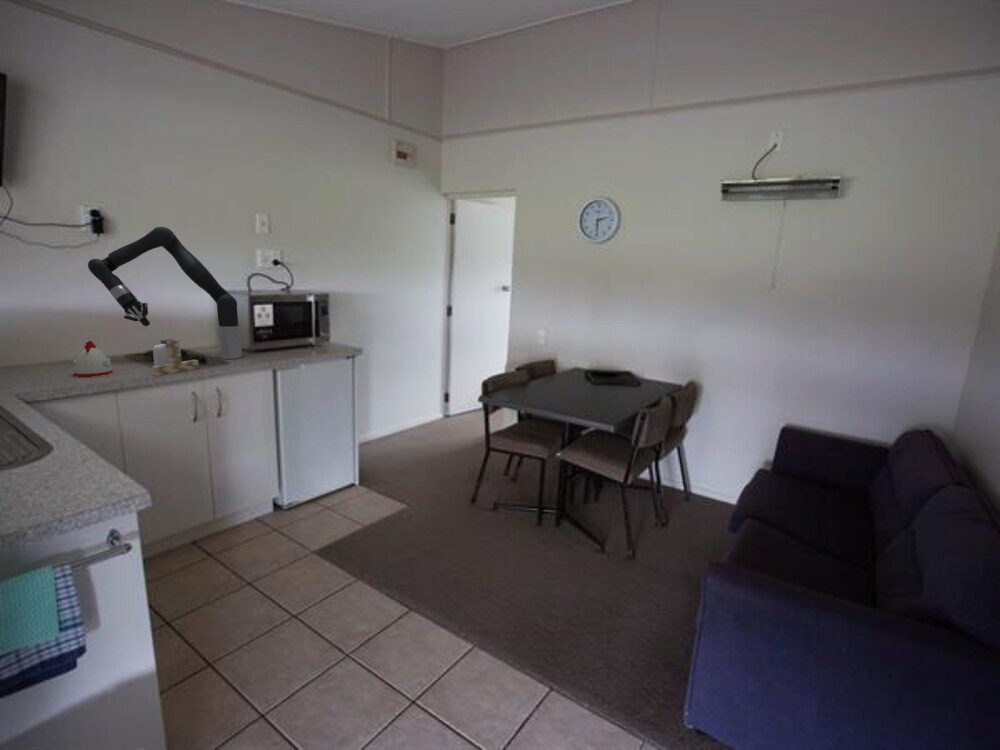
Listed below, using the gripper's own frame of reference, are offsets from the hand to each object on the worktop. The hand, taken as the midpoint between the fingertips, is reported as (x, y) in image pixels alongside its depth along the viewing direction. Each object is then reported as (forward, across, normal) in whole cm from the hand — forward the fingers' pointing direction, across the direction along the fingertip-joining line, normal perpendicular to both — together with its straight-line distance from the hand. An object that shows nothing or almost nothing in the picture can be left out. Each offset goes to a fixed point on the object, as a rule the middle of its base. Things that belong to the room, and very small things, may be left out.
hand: (148, 325), depth 258 cm
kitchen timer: (+10, -20, -27) cm, 35 cm away
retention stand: (+27, +5, -19) cm, 33 cm away
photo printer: (+25, +1, -16) cm, 30 cm away
